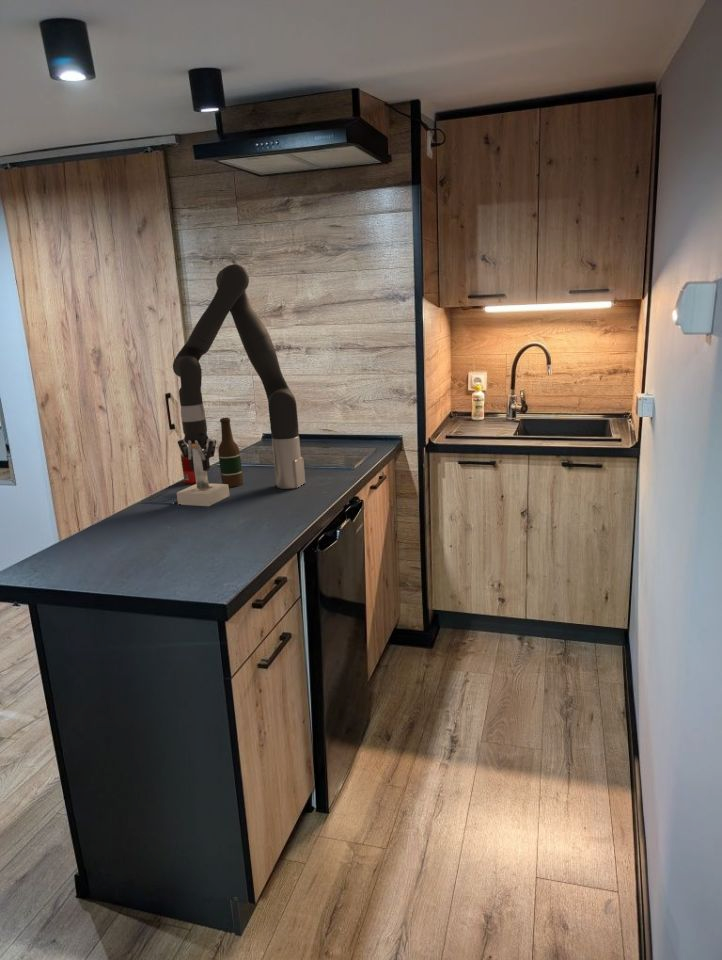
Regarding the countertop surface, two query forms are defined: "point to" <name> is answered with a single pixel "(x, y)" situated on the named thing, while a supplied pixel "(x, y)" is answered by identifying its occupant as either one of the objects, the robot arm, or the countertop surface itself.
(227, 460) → the beer bottle
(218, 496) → the socket block
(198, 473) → the plug
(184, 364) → the robot arm
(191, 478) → the canned food
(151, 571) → the countertop surface
